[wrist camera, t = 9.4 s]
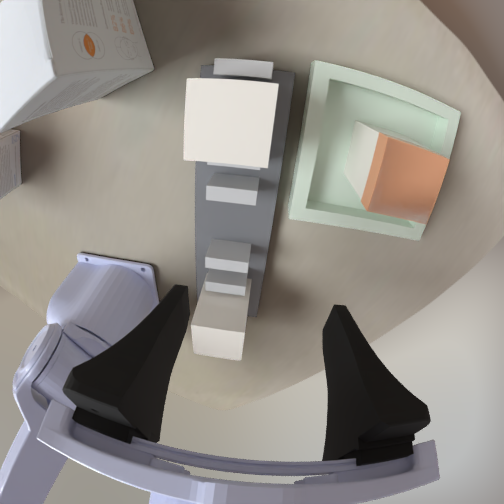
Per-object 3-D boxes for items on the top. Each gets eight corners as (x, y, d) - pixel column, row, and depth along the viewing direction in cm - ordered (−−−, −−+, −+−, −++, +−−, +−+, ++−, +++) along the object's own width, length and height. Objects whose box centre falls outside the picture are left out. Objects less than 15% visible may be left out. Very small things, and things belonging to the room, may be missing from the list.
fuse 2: (207, 303, 26) (193, 353, 21) (206, 272, 24) (190, 324, 19) (247, 309, 26) (241, 360, 21) (251, 278, 24) (244, 332, 19)
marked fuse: (342, 173, 18) (366, 211, 13) (354, 119, 16) (387, 136, 11) (391, 184, 18) (426, 224, 13) (405, 134, 16) (449, 159, 11)
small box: (77, 26, 12) (-22, 28, 3) (133, -9, 11) (38, -41, 2) (98, 101, 16) (-5, 137, 8) (157, 71, 15) (55, 77, 6)
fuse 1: (210, 135, 17) (183, 160, 12) (214, 79, 15) (186, 78, 10) (270, 141, 17) (267, 168, 12) (277, 84, 15) (278, 83, 10)
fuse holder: (199, 305, 28) (192, 329, 25) (204, 62, 15) (190, 58, 12) (256, 313, 28) (254, 338, 25) (294, 69, 14) (299, 66, 12)
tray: (287, 206, 20) (288, 218, 19) (311, 62, 14) (315, 60, 12) (410, 228, 20) (419, 240, 19) (446, 107, 14) (460, 112, 12)
